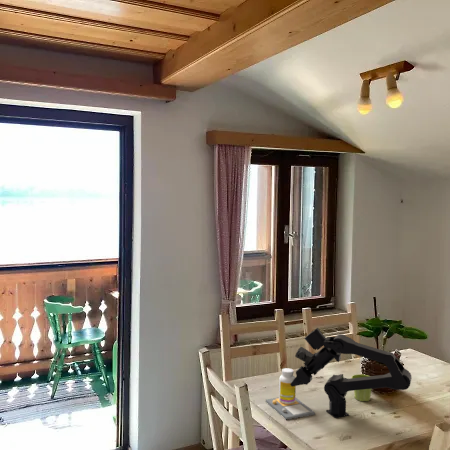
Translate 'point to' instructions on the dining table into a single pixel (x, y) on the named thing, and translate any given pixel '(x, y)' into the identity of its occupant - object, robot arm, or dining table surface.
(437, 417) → the dining table surface
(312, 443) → the dining table surface
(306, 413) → the board
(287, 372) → the supplement bottle
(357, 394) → the plant pot
